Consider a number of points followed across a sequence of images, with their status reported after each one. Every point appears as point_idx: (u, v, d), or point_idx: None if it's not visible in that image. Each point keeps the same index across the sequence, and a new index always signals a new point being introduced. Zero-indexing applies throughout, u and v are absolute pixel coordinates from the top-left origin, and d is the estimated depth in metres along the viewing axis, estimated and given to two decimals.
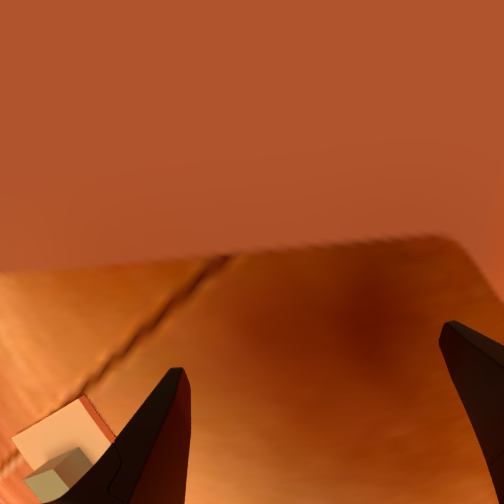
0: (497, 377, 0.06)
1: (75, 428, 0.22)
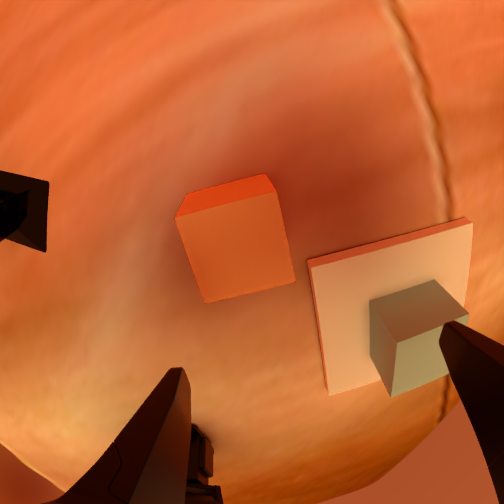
0: (497, 377, 0.06)
1: None
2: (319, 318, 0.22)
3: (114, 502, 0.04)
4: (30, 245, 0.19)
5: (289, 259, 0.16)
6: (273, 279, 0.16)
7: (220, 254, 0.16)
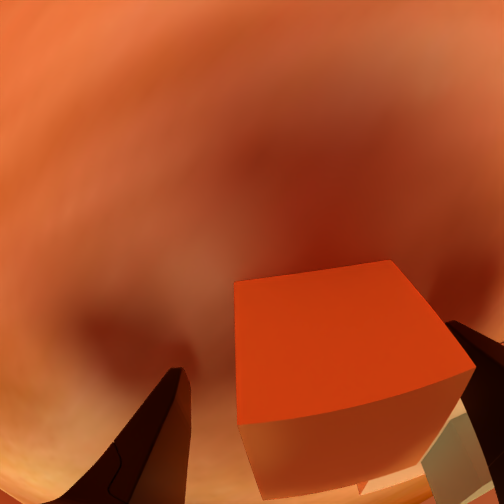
0: (497, 377, 0.06)
1: None
2: None
3: (114, 502, 0.04)
4: None
5: (426, 447, 0.06)
6: (388, 470, 0.07)
7: (321, 462, 0.06)
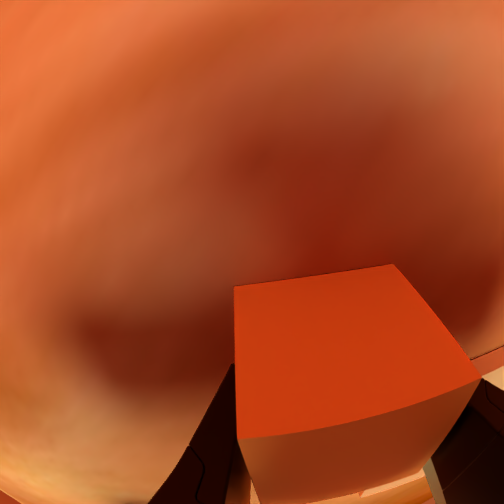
0: None
1: None
2: None
3: None
4: None
5: (429, 456, 0.06)
6: (390, 479, 0.07)
7: (322, 473, 0.06)
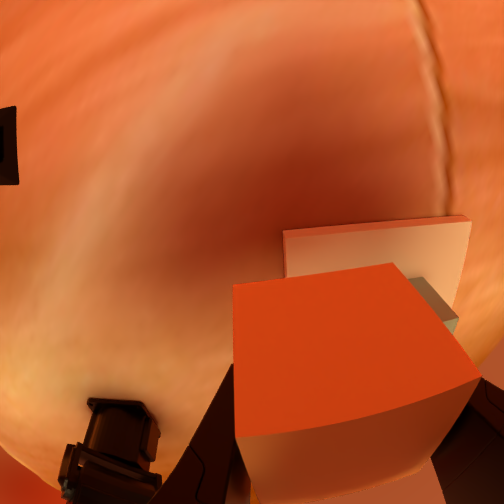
0: None
1: None
2: None
3: None
4: (3, 182, 0.16)
5: (429, 455, 0.06)
6: (390, 478, 0.07)
7: (321, 473, 0.06)
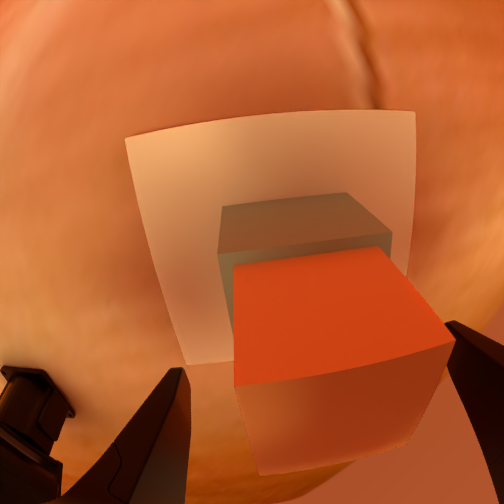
0: (497, 377, 0.06)
1: None
2: (144, 225, 0.15)
3: (114, 502, 0.04)
4: None
5: (416, 424, 0.07)
6: (380, 447, 0.08)
7: (313, 432, 0.07)
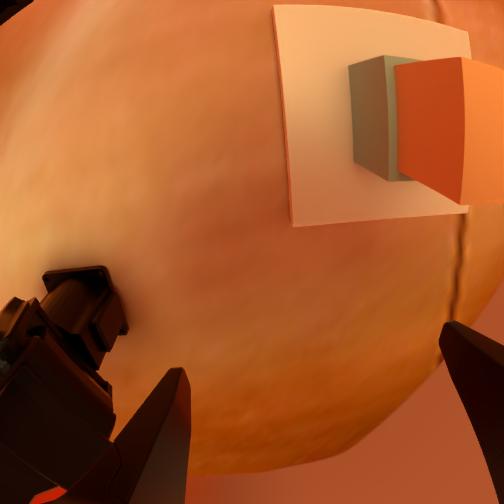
0: (497, 377, 0.06)
1: None
2: (282, 71, 0.15)
3: (114, 502, 0.04)
4: (19, 9, 0.12)
5: None
6: None
7: (496, 132, 0.07)
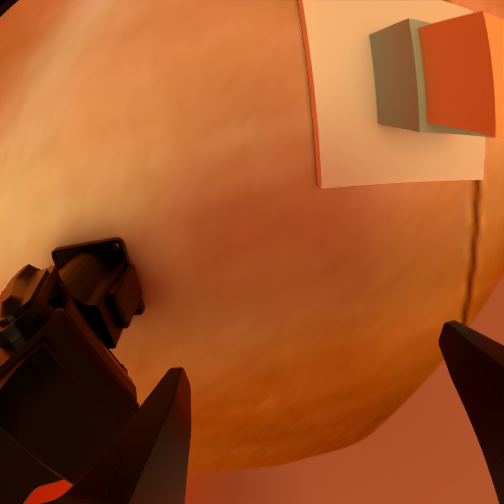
0: (497, 377, 0.06)
1: (465, 145, 0.18)
2: (308, 37, 0.15)
3: (114, 502, 0.04)
4: None
5: None
6: None
7: None
